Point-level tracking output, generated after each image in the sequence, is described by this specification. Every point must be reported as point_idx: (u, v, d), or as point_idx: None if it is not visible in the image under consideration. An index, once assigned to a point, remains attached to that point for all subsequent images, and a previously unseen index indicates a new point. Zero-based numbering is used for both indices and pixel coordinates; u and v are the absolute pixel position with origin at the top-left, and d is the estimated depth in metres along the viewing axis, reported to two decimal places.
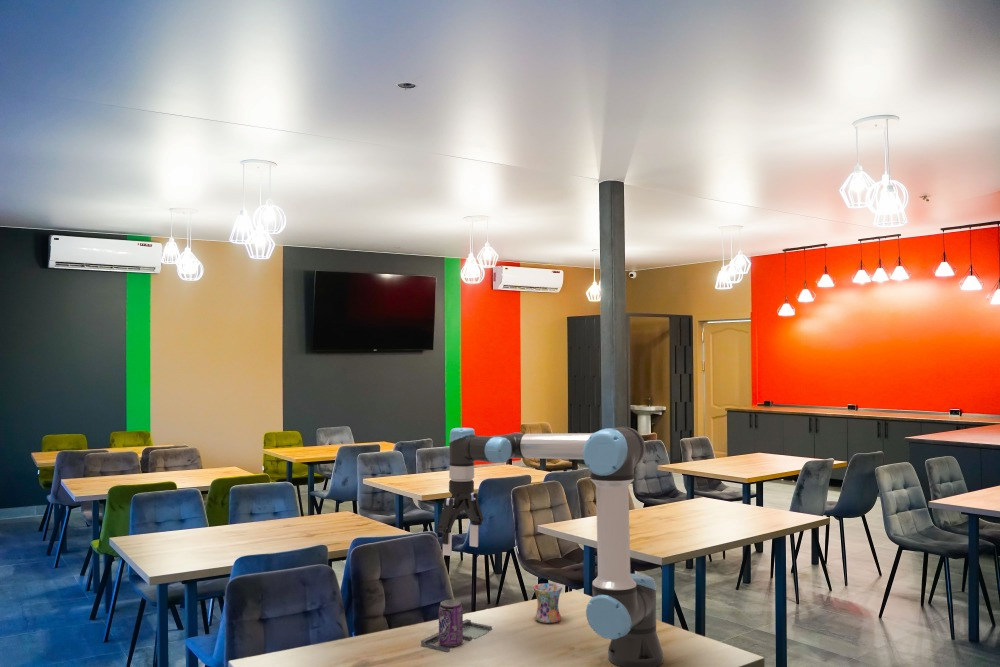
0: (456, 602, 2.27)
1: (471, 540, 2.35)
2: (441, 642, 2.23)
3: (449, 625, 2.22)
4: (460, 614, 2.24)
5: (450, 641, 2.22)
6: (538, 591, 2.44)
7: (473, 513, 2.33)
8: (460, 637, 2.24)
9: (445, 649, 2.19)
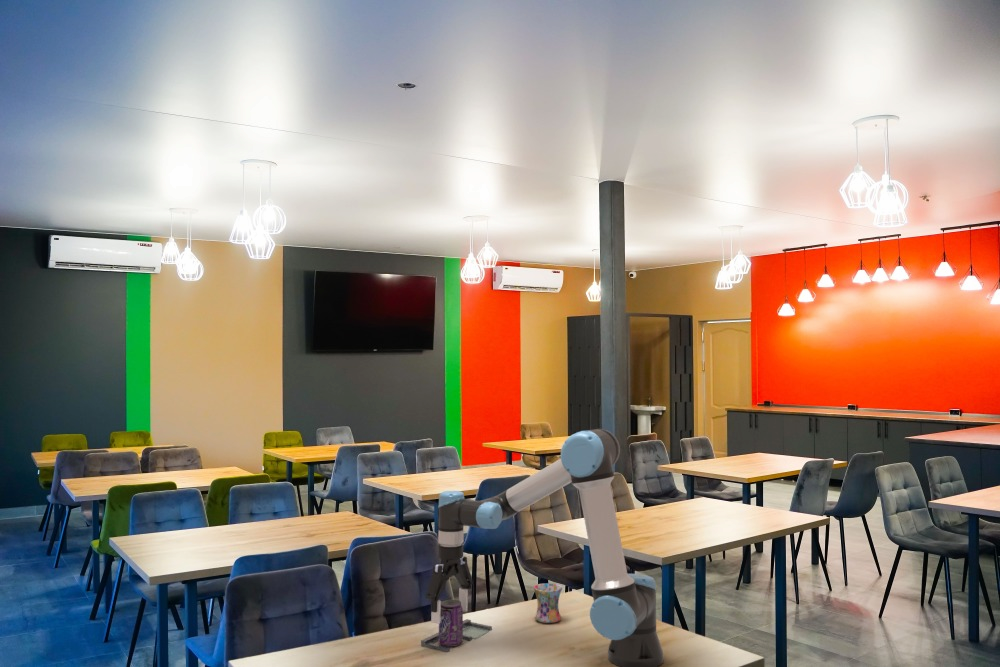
0: (456, 602, 2.27)
1: None
2: (441, 642, 2.23)
3: (449, 625, 2.22)
4: (460, 614, 2.24)
5: (450, 641, 2.22)
6: (538, 591, 2.44)
7: (462, 577, 2.30)
8: (460, 637, 2.24)
9: (445, 649, 2.19)
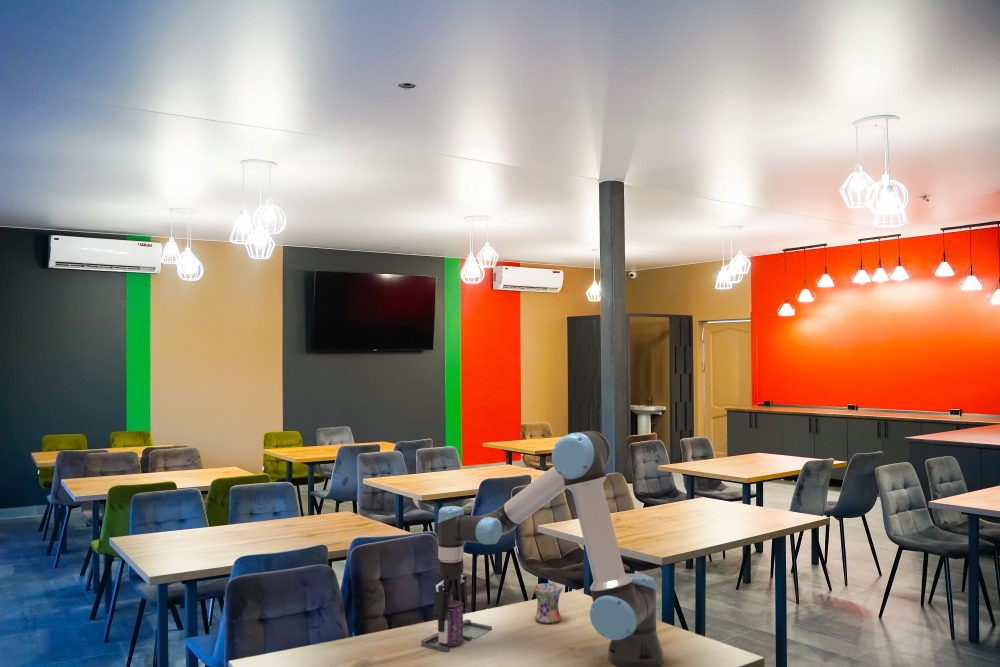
0: (456, 602, 2.27)
1: None
2: None
3: (449, 625, 2.22)
4: (460, 614, 2.24)
5: (451, 641, 2.22)
6: (538, 591, 2.44)
7: (459, 597, 2.28)
8: (460, 637, 2.24)
9: (445, 649, 2.19)
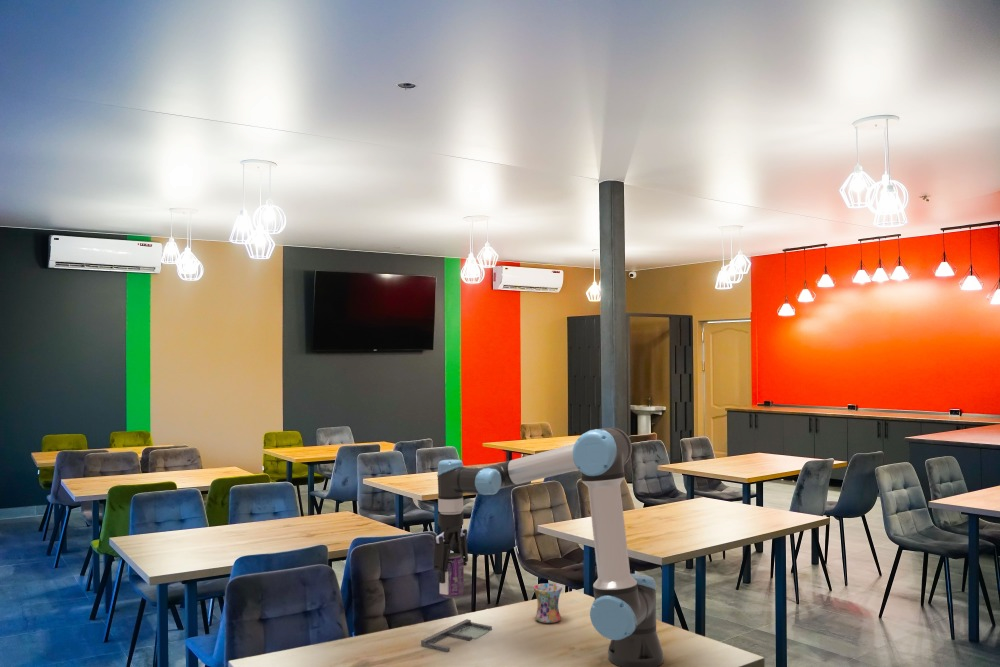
0: (457, 554, 2.28)
1: None
2: (442, 594, 2.24)
3: (450, 576, 2.23)
4: (461, 566, 2.25)
5: (452, 592, 2.23)
6: (538, 591, 2.44)
7: (460, 550, 2.29)
8: (461, 589, 2.24)
9: (445, 649, 2.19)
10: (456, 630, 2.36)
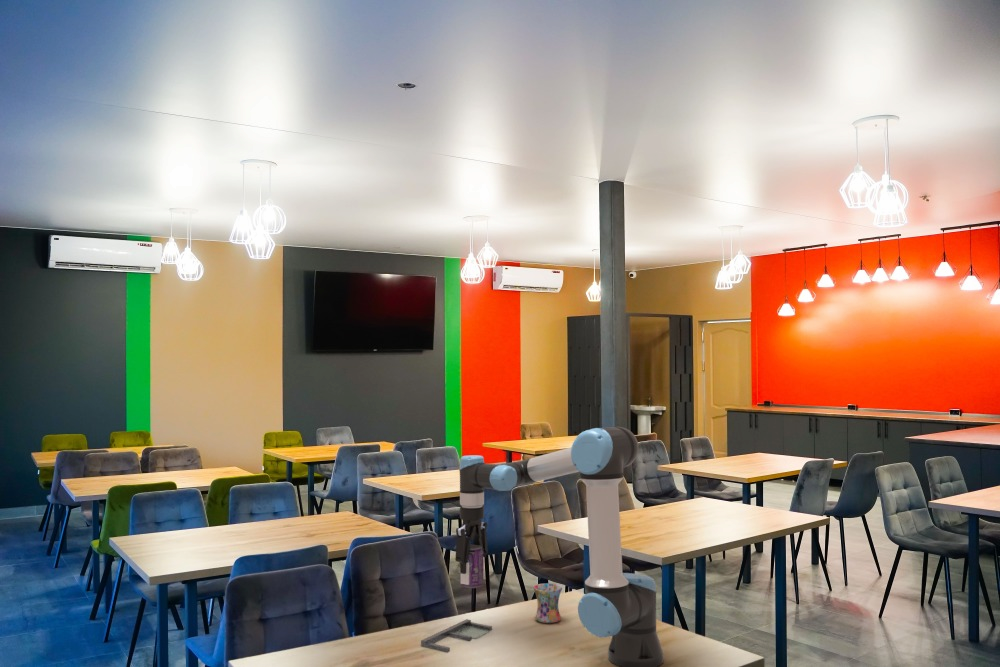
0: (477, 546, 2.37)
1: None
2: (463, 584, 2.33)
3: (471, 567, 2.32)
4: (481, 557, 2.34)
5: (472, 582, 2.32)
6: (538, 591, 2.44)
7: (480, 542, 2.38)
8: (481, 579, 2.34)
9: (445, 649, 2.19)
10: (456, 630, 2.36)
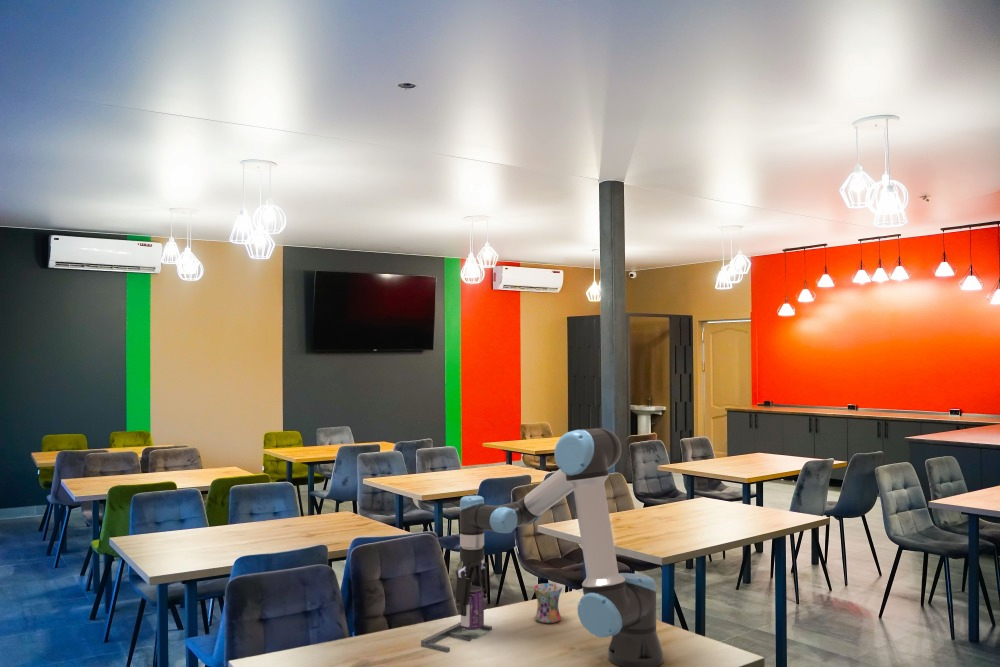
0: (477, 587, 2.36)
1: None
2: (463, 626, 2.32)
3: (471, 609, 2.32)
4: (481, 599, 2.33)
5: (472, 625, 2.31)
6: (538, 591, 2.44)
7: (480, 583, 2.37)
8: (481, 621, 2.33)
9: (445, 649, 2.19)
10: (456, 630, 2.36)
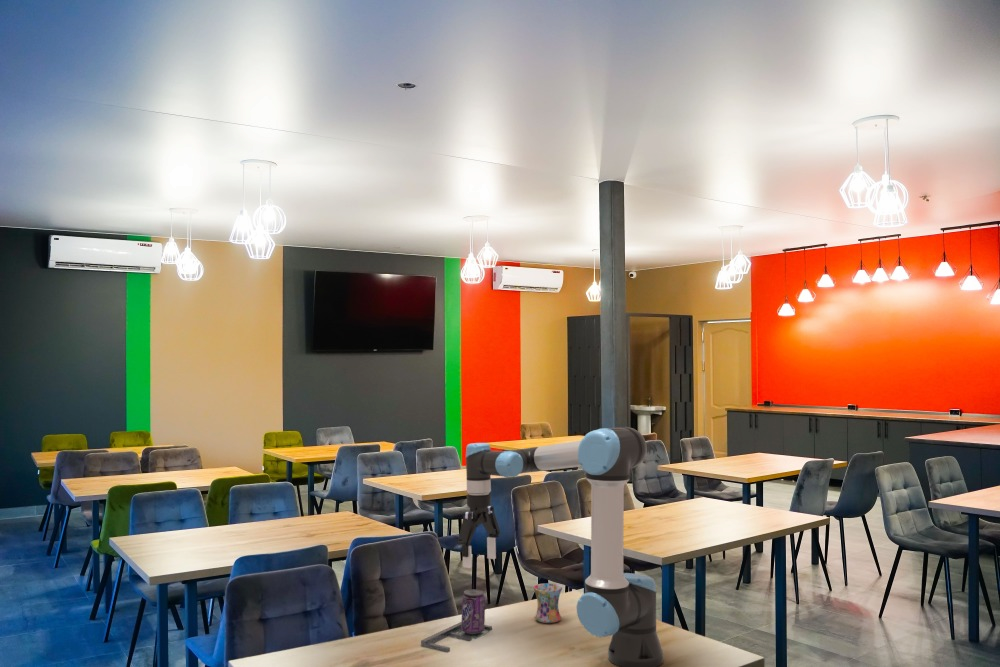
0: (479, 592, 2.37)
1: (489, 552, 2.41)
2: (463, 629, 2.33)
3: (472, 613, 2.32)
4: (482, 603, 2.33)
5: (472, 629, 2.31)
6: (538, 591, 2.44)
7: (490, 526, 2.40)
8: (482, 625, 2.33)
9: (445, 649, 2.19)
10: (456, 630, 2.36)
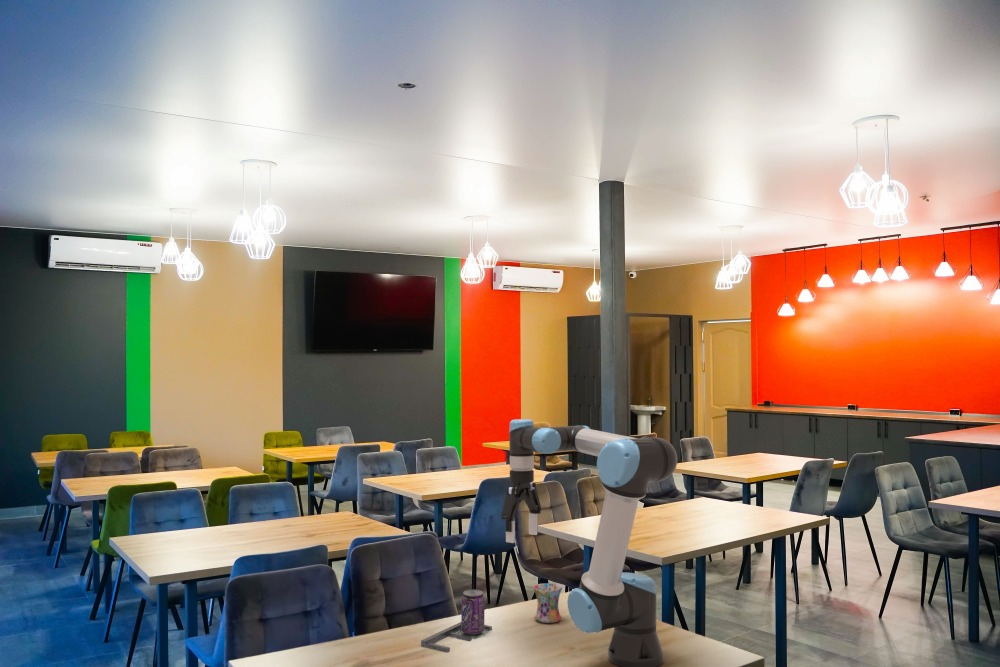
0: (478, 592, 2.36)
1: (530, 528, 2.42)
2: (463, 630, 2.33)
3: (471, 614, 2.31)
4: (482, 604, 2.33)
5: (472, 629, 2.31)
6: (538, 591, 2.44)
7: (532, 502, 2.40)
8: (481, 626, 2.33)
9: (445, 649, 2.19)
10: (456, 630, 2.36)
